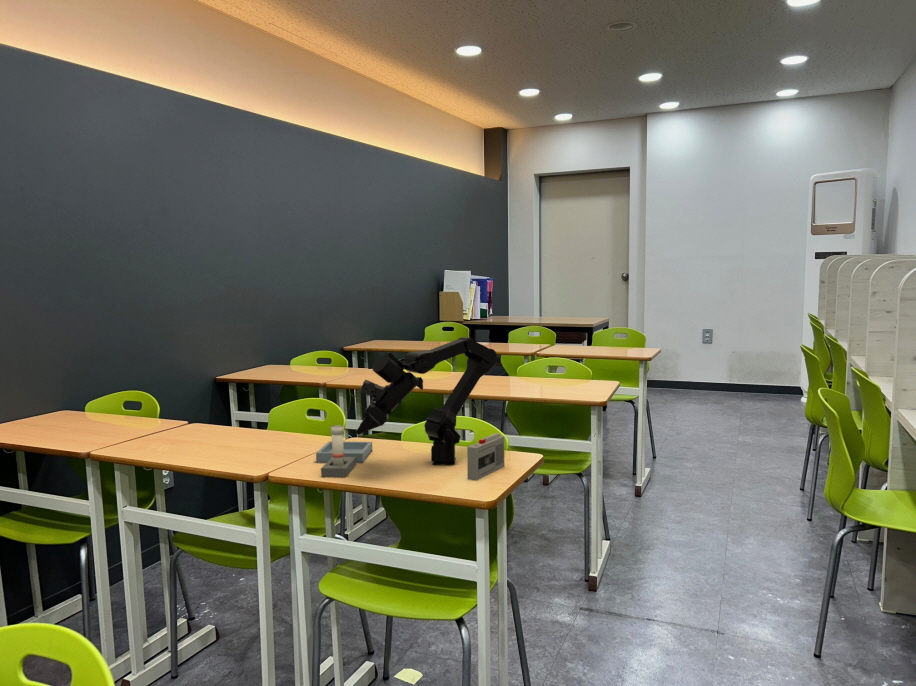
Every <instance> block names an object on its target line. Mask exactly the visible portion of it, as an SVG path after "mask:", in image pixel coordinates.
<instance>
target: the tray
mask: <svg viewBox="0 0 916 686" xmlns="http://www.w3.org/2000/svg"><path fill="white" fill-rule="evenodd" d="M343 442H344V457H356V464H363V463H365V462H366V460H367V459H368V457H369V456H370V455H371V453H373V441H343ZM331 458H332V440H331V441H328V442H327V443H325V444H324V445H323V446H322V447H321V448H319V450H317V451H316V453H315V459H316V460H315V461H316V462H315V463H316V464H326V463H327V462H328V461H329V460H330V459H331Z"/></svg>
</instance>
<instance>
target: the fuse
mask: <svg viewBox="0 0 916 686" xmlns="http://www.w3.org/2000/svg"><path fill="white" fill-rule="evenodd" d="M344 428H345V427H344V426H343V425H338V424H337V425H332V426H330V434H331V441H332V463H333V465H337V466H344V442H345V441H344Z"/></svg>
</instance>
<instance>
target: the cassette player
mask: <svg viewBox="0 0 916 686" xmlns="http://www.w3.org/2000/svg"><path fill="white" fill-rule="evenodd" d="M466 453H467V457H466V458H467V460H466V462H467V464H466V465H467V480H471V481H479V480H481V479H483V478H485V477H487V476H488V475H491V474H493V473H495V472H497V471H499V470H501V469H503V468H505V436H504V435H501V433H500V432H499V433H498V432H494V433H493V434H490V435H488V436H485V437H483V438H480V439H478V442H476V443H474V444H471V445H468V446H467V452H466Z"/></svg>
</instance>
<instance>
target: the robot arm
mask: <svg viewBox="0 0 916 686" xmlns="http://www.w3.org/2000/svg"><path fill="white" fill-rule="evenodd" d="M462 354H463V356H465V357H466V358H467V360H466V370H465V371H464V372H463V374H462V375H461V377H460V378H459V380H458V382H457V383H456V385H455V387H454V388H453V389H452V391H451V393H450V395H449V396H448V397H447V399H446V401H445V402H444V404H443V405H442V406H441V407H440V408H432V409H431V410H430V412H429V414H428V416H427V417H426V418H425V423H424V425H423V426H424V432H425V434H426V435H427V437H428V439H429V441H432V445H431V448H430V450H431V453H430V455H431V456H430V457H431V459H430V461H431V462H432V463H431V464H432V465H440V466H442V465H444V466H445V465H446V466H453V465H455V464H456V461H457V457H456V444H460V440H461V435H460V434H459V433H458V431H456V429H455V428H456V426H457V416H458V414H459V412H460V410H461V409H462V408H463V406H464V404H465V403H466V401H467V399H468V398H469V396H470V395H471V393H472V391H474V389H475V387H476V385H477V384H478V382H479V380H480V379H481V378H482V377H483V376H485V375H486V374H487V373H490V372H491V370H492V369H493V368H494V367H495V366H496V364H497V362H498V354H497V352H496V350H494V348H489V347H487V346H486V345H483V344H481V343H479V342H477V341H476V340H475V339H473V338H471V337H468V336H467V337H465V336H464V337H463V336H461V337H459V338H457V339H455V340H453V341H449V342H447V343H445V344H442V345H439V346H437V347H433V348H431V349H427V350H417V351H416V350H415V351H410V352H409V351H408V352H407V353H406V354H405V355H404V357H402V358H399V359H398V358H396V357H395V355H394V354H393V353H392V352H390V351H386V352H385V353H384V354H383V355H381V356H380V357H379V358H377V359H376V360H375V361H374V363H373V365H372V372H374V373H375V374H376V375H377V376H379V377H380V378H381V379H383V380H384V381H385V382H387V383H388V384H386V385H385V386H384V387H383V386H381V385H380V384H377V383H376V382H373V381H370V380H369V379H365V380H364V381H363V382H362V385H361V386H360V387H361V388H360V389H359V392H360V393H361V394H364V395H367V396H369V397H371V399H370V400H371V401H370V402H369V403H370V404H369V405H368V406H367V407H366V408H365V410H364V413H365V414H364V415H365V417H364V418H363V419H362V420H361V422H360V424H359V426H358V427H357V429H356V431H355V434H356V435H361V434H363V433H366V432H369V431H371V430H374V429H376V428H378V427H382V426H384V425H385V424H386V423H387V421H388V420H389V415H391V414H392V412H393V410H395V409H396V408H397V406H399V405H400V404H401V403H402V402H403V400H404V399H405V398H407V396H408V395H409V394H411V392H413V390H414V389H415V388H418V389H420V391H422V390H424V380H423V378H422V377H421V376H416V375H415V374H419V375H425V374H427V373H428V372H430V371H431V370H433V369H434V368H435V367H436V365H438V364H439V363H442V362H445V361H446V360H449V359H451V358H455V357H457V356H458V355H459V356H460V355H462ZM405 370H406V371H405ZM413 373H414V374H413Z"/></svg>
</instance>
